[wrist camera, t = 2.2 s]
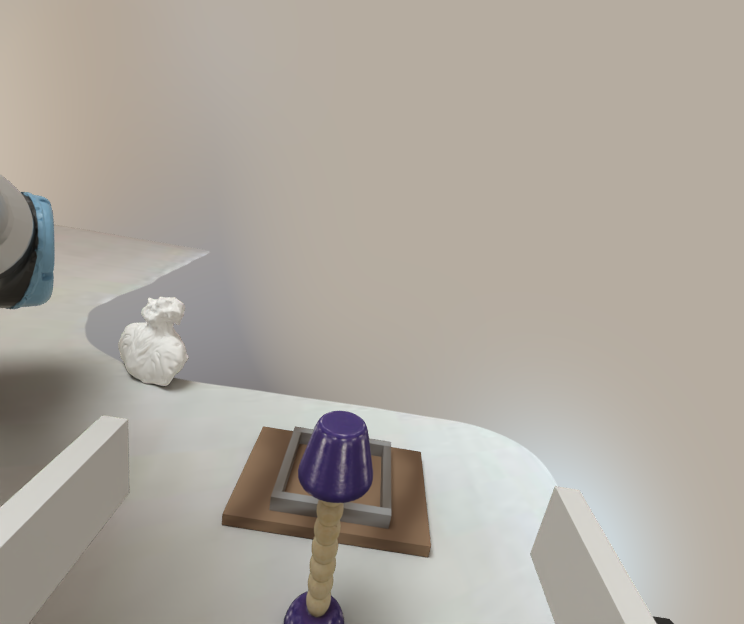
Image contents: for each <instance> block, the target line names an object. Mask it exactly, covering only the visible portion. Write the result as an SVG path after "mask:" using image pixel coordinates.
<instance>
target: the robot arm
mask: <svg viewBox="0 0 744 624" xmlns="http://www.w3.org/2000/svg"><path fill="white" fill-rule="evenodd" d="M53 270H54V222H53V211H52V208H51V204H50V202H49V201H48V199H46V198H45V197H42V196H37V195H32V194H31V193H28V192H20V191H19V190H18V189H17V188H16V187H15V186H14V185H13V184H12V183H11V182H10V181H8V180H7V179H6V178H4V177H3V176H2V175H0V308H6V309H18V308H20V307H29V306H38V305H42V304H44V303H46V302H47V301H48V300H49V299H50V297H51V295H52V290H53V279H54V278H53ZM129 493H130V489H129V444H128V419H124V418H117V417H111V416H105V415H102V416H101V417H100V418H99V419H98V420H97V421H95V422H94V423H93V424H92V425H91V426H90V427H89V428H88V429H87V430H85V431H84V432H83V433H82V434H81V435H80V436H79V437H78V438H77V439H75V440H74V441H73V442H72V443H71V444H70V445H69V446H68V447H67V448H66V449H64V450H63V451H62V452H61V453H60V454H59V455H58V456H57V457H56V458H54V459H53V460H52V461H51V462H50V463H49V464H48V465H47V466H46V467H44V468H43V469H42V470H41V471H40V472H39V473H38V474H37V475H36V476H34V477H33V478H32V479H31V480H30V481H29V482H28V483H27V484H26V485H25V486H23V487H22V488H21V489H20V490H19V491H18V492H17V493H16V494H15V495H13V496H12V497H11V498H10V499H9V500H8V501H7V502H6V503H5V504H3V505H2V506H1V507H0V624H29V622H30V621H31V620H32V618H33V617H34V616H35V614H36V613H37V612H38V611H39V609H40V608H41V607H42V605H43V604H44V603H45V602H46V600H47V599H48V598H49V596H50V595H51V594H52V592H53V591H54V590H55V589H56V587H57V586H58V585H59V583H60V582H61V581H62V579H63V578H64V577H65V576H66V574H67V573H68V572H69V570H70V569H71V568H72V566H73V565H74V564H75V563H76V561H77V560H78V559H79V557H80V556H81V555H82V554H83V552H84V551H85V550H86V548H87V547H88V546H89V544H90V543H91V542H92V541H93V539H94V538H95V537H96V535H97V534H98V533H99V531H100V530H101V529H102V528H103V526H104V525H105V524H106V522H107V521H108V520H109V518H110V517H111V516H112V515H113V513H114V512H115V511H116V509H117V508H118V507H119V506H120V504H121V503H122V502H123V500H124V499H125V498H126V496H127V495H128V494H129ZM530 555H531V558H532V560H533V563H534V566H535V569H536V571H537V574H538V577H539V580H540V583H541V585H542V588H543V591H544V594H545V596H546V599H547V602H548V605H549V608H550V610H551V613H552V616H553V619H554V621H555V624H674V623H673V622H672V621H671V620H670V619H666V618H660V617H653V616H652V615H651V613H650V611H649V610H648V608H647V606H646V604H645V603H644V601H643V600H642V598H641V596H640V594H639V593H638V591H637V589H636V587H635V585H634V584H633V582H632V580H631V579H630V577H629V575H628V573H627V572H626V570H625V568H624V566H623V565H622V563H621V561H620V559H619V558H618V556H617V554H616V553H615V551H614V549H613V548H612V546H611V544H610V542H609V541H608V539H607V537H606V535H605V534H604V532H603V530H602V528H601V527H600V525H599V523H598V521H597V520H596V518H595V516H594V515H593V513H592V511H591V509H590V508H589V506H588V504H587V503H586V501H585V499H584V497H583V496H582V494H581V492H580V491H579V490H576V489H569V488H563V487H557V486H555V487H554V490H553V493H552V496H551V498H550V501H549V504H548V507H547V509H546V512H545V515H544V518H543V520H542V523H541V526H540V528H539V531H538V534H537V537H536V539H535V542H534V545H533V548H532V550H531V553H530Z"/></svg>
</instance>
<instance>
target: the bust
mask: <svg viewBox="0 0 744 624" xmlns="http://www.w3.org/2000/svg"><path fill="white" fill-rule="evenodd" d="M184 311H185V306H184V304H183V303H182V302H180V301H179V300H178V299H176V298H174V297H173V298H169V297H168V298H164V297H159V299H152V298H148V304H147V305H146V306H145V308H143V309H142V312H141V314H142V315H143V317H144V318H145V321H146V322H147V323H132V324H130V325H128V326H127V327H126V328H125V330H124V332H123V333H122V334H121V339H120V340H119V343H118V346H119V351H120V355H121V359H122V360H123V361H124V363H125V365H126V369H127V371H128V373H130V374H131V375H132V376H134V377H135V378H137V379H139V380H141V381H142V382H143V383H145V384H147V383H153V384H157V385H161V386H167V385H168V384H169V383H170V382H171V381H172V379H173V378H174V376H175V375H176V374H177V373H179V372H180V371H181V370H182V368H183V367H184V364H185V363H186V361H187V360H188V355H187V354H186V348H185V345H184V343H183V342H182V340H181V337H180V336H179V335H178V334H177V333H176V332H175V330H174V328H173V325H174V323H175V324H177V325H179V324H180V322H181V319H182V317H183V316H184Z"/></svg>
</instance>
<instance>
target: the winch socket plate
mask: <svg viewBox="0 0 744 624" xmlns="http://www.w3.org/2000/svg"><path fill="white" fill-rule="evenodd" d="M313 431H314V430H313V429H307V428H301V427H295V428H294V431H288V430H282V429H276V428H270V427H263V428H262V430H261V432H260V435H259V437H258V439H257V441H256V443H255V445H254V448H253V450H252V452H251V454H250V456H249V458H248V460H247V463H246V465H245V467H244V469H243V471H242V473H241V475H240V478H239V480H238V482H237V484H236V486H235V488H234V490H233V493H232V495H231V497H230V499H229V501H228V503H227V505H226V508H225V510H224V512H223V515H222V525H226V526H233V527H239V528H245V529H252V530H258V531H264V532H271V533H277V534H284V535H290V536H296V537H303V538H309V539H314V537H315V534H314V526H315V522H316V519H317V504H318V501H319V499H317V498H314V497H313V496H312V495H310V494H309V493H307V492H306V491H305V490H304V489H303V487H302V486H301V484H300V482H299V479H298V468H299V465H300V462H301V459H302V457H303V454H304V452H305V450H306V447H307V445H308V442H309V440H310V438H311V435H312V433H313ZM369 443H370V451H371V458H372V467H373V481H372V485H371V487H370V489H369V490H368V492H366V493H365V494H364V495H363V496H362V497H360V498H359V499H357V500H355V501H351V502H347V503H343V506H344V509H343V514H342V517H341V519H340V525H341V527H340V533H339V536H338V538H337V540H338V543H341V544H347V545H354V546H360V547H366V548H373V549H379V550H385V551H392V552H398V553H404V554H411V555H417V556H424V557H428V555H429V552H430V548H431V543H430V534H429V524H428V515H427V506H426V496H425V487H424V478H423V468H422V459H421V452H418V451H412V450H406V449H399V448H393V447H391V442H387V441H381V440H375V439H369Z"/></svg>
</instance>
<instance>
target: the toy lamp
mask: <svg viewBox="0 0 744 624" xmlns="http://www.w3.org/2000/svg"><path fill="white" fill-rule="evenodd" d="M298 479H299V482H300V484H301V486H302V487H303V489H304V490H305V491H306V492H307V493H309V494H310V495H312V496H313V497H314V498H317V499H319V501H318V504H317V519H316V522H315V526H314V534H315V537H314V539H313V542H312V557H311V560H310V572H311V573H310V575H309V579H308V589H309V590H308V592H305V593H303V594H301V595H300V596H299V597H297V598H296V599H295V600H294V601H293V602H292V604H291V605H290V607H289V609H288V611H287V613H286V616H285V619H284V624H344V618H343V613H342V610H341V607H340V605H339V604H338V602H337V601H336V600H335V599H334V598H333V597H332V596H331V592H330V591H331V589H332V586H333V573H334V571H335V566H336V559H335V556H336V554H337V550H338V540H337V538H338V536H339V533H340V527H341V525H340V519H341V517H342V514H343V509H344V506H343V503H347V502H351V501H355V500H357V499H359V498H360V497H362V496H363V495H364V494H365V493H366V492H368V490H369V489H370V487H371V485H372V481H373V467H372V458H371V451H370V443H369V436H368V430H367V426H366V424H365V422H364V421H363V419H361V418H360V417H359V416H357V415H355V414H353V413H350V412H346V411H333V412H329V413H327V414H325V415H323V416H322V417H321V418H320V419H319V421H318V422H317V424H316V426H315V428H314V431H313V433H312V435H311V438H310V440H309V442H308V445H307V447H306V450H305V452H304V454H303V457H302V459H301V462H300V465H299V468H298Z"/></svg>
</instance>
